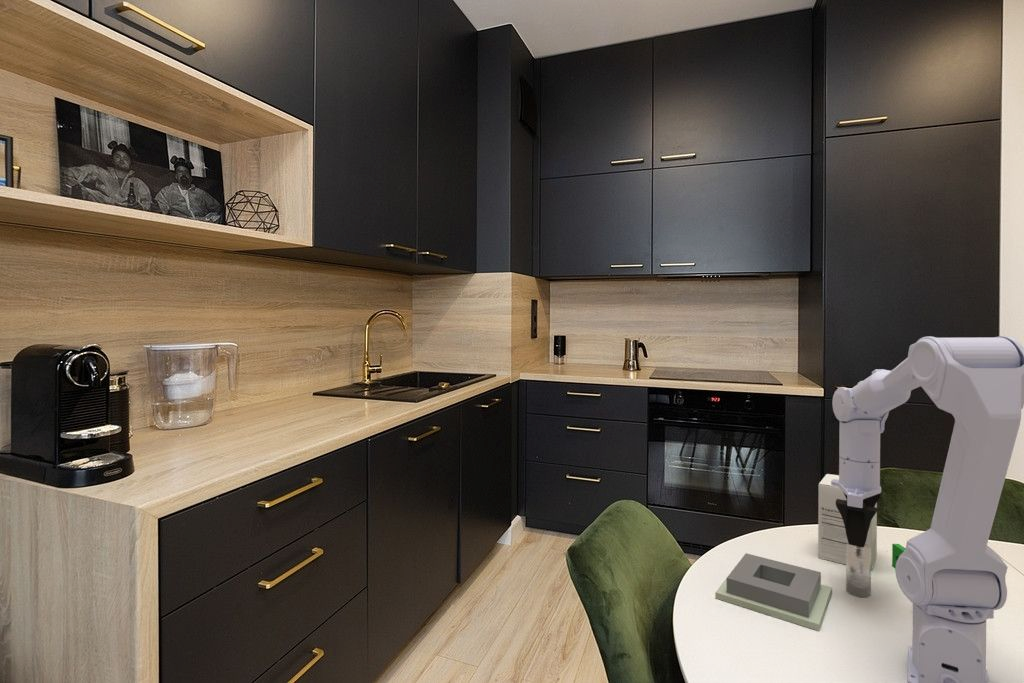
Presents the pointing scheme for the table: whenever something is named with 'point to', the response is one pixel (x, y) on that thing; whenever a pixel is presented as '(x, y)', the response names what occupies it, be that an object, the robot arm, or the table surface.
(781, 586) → the dock
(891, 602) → the table surface
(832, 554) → the supplement box
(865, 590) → the silver metal cylinder
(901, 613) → the table surface
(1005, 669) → the table surface
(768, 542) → the table surface
